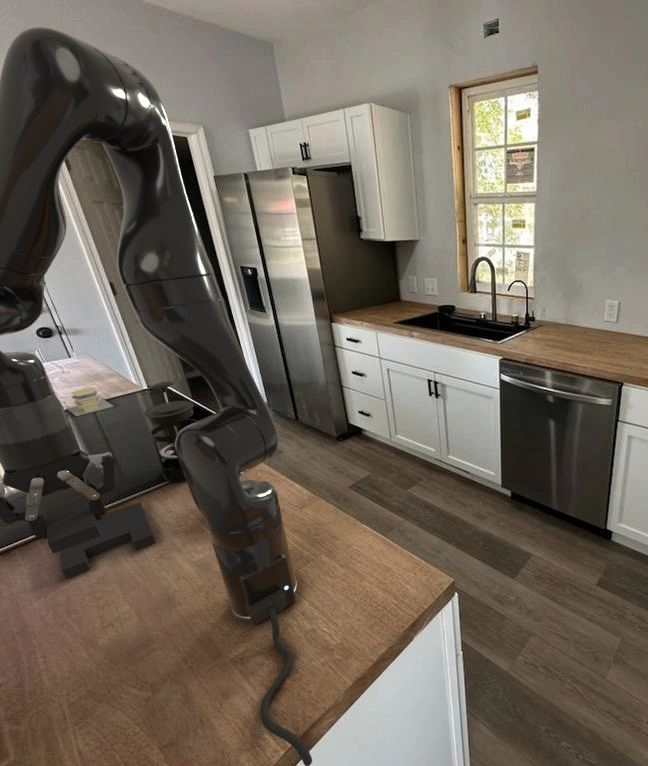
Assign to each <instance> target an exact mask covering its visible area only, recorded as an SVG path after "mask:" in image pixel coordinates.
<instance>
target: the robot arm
mask: <svg viewBox="0 0 648 766" xmlns="http://www.w3.org/2000/svg"><path fill="white" fill-rule="evenodd" d="M157 91H158V90H157V89H156V88H155V87H154V85H153V84H152V82H151V81H150V80H149V79H148V78H147V76H145V74H143V73H142V72H141V71H140V70H138V69H137V68H136V67H134V66H133V65H131V64H130V63H128V62H126V61H124V60H123V59H121V58H119V57H117V56H115V55H112V54H110V53H108V52H106V51H105V50H102V49H99V48H97V47H95V46H93V45H91V44H89V43H87V42H85V41H83V40H81V39H79V38H77V37H74V36H73V35H70V34H68V33H65V32H63V31H60V30H57V29H53V28H50V27H45V26H44V27H40V26H39V27H38V26H37V27H36V26H34V27H31V28H28V29H27V28H26V29H25V30H22V31H21V32H20V33H19V34H18V35H16V37H14V38H13V40H12V41H11V43H10V45H9V47H8V50H7V51H6V54H5V57H4V60H3V64H2V68H1V72H0V337H3V336H6V335H12V334H16V333H20V332H22V331H24V330H27V329H28V328H31V326H33V324H35V323H36V322H37V321H38V319H39V318H40V316H41V315H42V312H43V308H44V296H45V294H44V293H45V275H46V274H47V272H48V271H49V270H50V268H51V266H52V264H53V262H54V260H55V258H56V257H57V255H58V254H59V251H60V249H61V247H62V245H63V243H64V240H65V237H66V233H67V217H66V212H65V207H64V204H63V200H62V197H61V192H60V173H61V169H62V167H63V164H64V162H65V161H66V159H67V158H68V157H69V155H70V153H71V152H72V151H73V149H74V148H75V147H76V146H77V144H78V143H80V142H81V140H84V141H89V142H92V143H97V144H101V145H102V146H103V148H104V151H105V152H106V154H107V156H108V158H109V159H110V162H111V165H112V168H113V171H114V172H115V175H116V178H117V181H118V183H119V186H120V189H121V194H122V200H123V215H122V222H121V227H120V233H119V239H118V245H117V251H116V267H117V273H118V276H119V280H120V282H121V284H122V286H123V289H124V291H125V294H126V296H127V299H128V301H129V303H130V305H131V308H132V310H133V312H134V315H135V317H136V320H138V324H140V326H141V327H142V328H143V330H144V331H145V332H146V333H147V334H148V335H150V337H151V338H152V339H154V340H155V341H156V342H158V343H159V344H160V345H162V346H163V347H164V348H165V349H167V350H168V351H169V352H171V353H172V354H174V356H177V358H179V359H181V360H182V361H184V362H185V363H186V364H188V365H189V366H190V367H192V369H194V370H195V371H196V372H198V374H199V375H201V377H203V379H204V380H205V381H206V383H207V384H208V386H209V388H210V389H211V391H212V394H213V395H214V397H215V400H216V401H217V404H218V408H219V411H217V412H215V413H213V414H211V415H209V416H207V417H204V418H202V419H200V420H197V422H195V423H193V424H187V425H186V426H185V427H183V428H182V429H180V430H179V431H178V434H177V436H176V440H175V449H176V455H177V458H178V461H179V464H180V467H179V468H181V469H182V471H183V474H184V476H185V479H186V481H185V482H186V484H187V486H188V488H189V491H190V495H191V496H192V499H193V501H194V504H195V506H196V508H197V509H198V511H199V513H200V514H201V516H202V517H203V519H204V521H205V525H206V527H207V531H208V534H209V537H210V540H211V544H212V548H213V551H214V554H215V557H216V561H217V564H218V567H219V570H220V571H219V572H220V574H221V577H222V581H223V583H224V587H225V590H226V594H227V597H228V600H229V604H230V609H231V612H232V616H234V618H235V619H236V620H238V621H241V622H245V623H252V624H253V626H254V627H256V626H258V625H260V624H262V623H263V622H265V621H267V620H268V619H269V620H270V624H271V627H272V628H271V629H272V643H273V645H274V646H275V649H276V651H278V652H279V653H280V654H281V655H282V656H283V657H284V659H285V664H284V667H283V669H282V671H281V672H280V674H279V676H278V677H277V678H276V680H275V681H274V682H273V684H271V686H270V687H269V688H268V690H267V692H266V693H265V695H264V696H263V699H262V701H261V704H260V718H261V719H260V720H261V723H262V725H263V726H264V728H265V729H266V730H267V731H268V732H270V733H271V734H273V735H275V736H276V737H278V738H280V739H282V740H283V741H285V742H286V743H288V744H289V745H291V746H292V747H293V748H294V749H295V751H296V752H297V753H298V755H299V757H300V759H301V761H302V763H303V765H304V766H311V765H312V763H313V757H312V755H311V753H310V751H309V749H308V747H307V745H306V744H305V742H303V740H302V739H301V738H300V737H299V736H297V734H295V733H294V732H292V731H291V730H288V729H287V728H286V727H283V726H281V725H279V724H277V723H276V722H275V721H274V720H273V719H272V718H271V716H270V712H269V707H270V702H271V700H272V698H273V696H274V694H275V693H276V692H277V690H278V689H279V687H280V686H281V685H282V684H283V682H284V681H285V680H286V678H287V677H288V675H289V673H290V671H291V669H292V666H293V654H292V651H290V649H289V648H288V647H287V646H285V644H283V642H282V640H281V638H280V637H281V636H280V623H279V618H278V613H280V612H282V611H283V610H285V609H286V608H288V607H290V606H292V605H293V604H295V603H296V602H297V599H296V595H297V593H298V587H299V586H298V584H299V583H298V581H297V577H296V575H295V570H294V566H293V561H292V557H291V552H290V548H289V543H288V538H287V534H286V529H285V526H284V521H283V516H282V515H283V514H282V511H281V505H280V502H279V497H278V493H277V490H276V488H275V486H274V485H273V484H272V483H270V482H267V481H265V480H260V479H257V480H256V479H251V480H249V479H247V480H241V479H240V477H241V476H243V475H245V474H246V473H248V472H249V471H251V470H253V469H254V468H255V467H256V468H257V466H259V465H260V464H262V463H264V462H265V461H266V460H268V459H269V458H271V457H272V456H274V454H275V453H276V451H277V449H278V445H279V436H278V431H277V427H276V425H275V421H274V419H273V416H272V415H271V412H270V410H269V408H268V406H267V404H266V402H265V400H264V397H263V395H262V394H261V391H260V389H259V387H258V385H257V383H256V381H255V378H254V377H253V375H252V372H251V370H250V369H249V366H248V364H247V361H246V359H245V356H244V354H243V350H242V348H241V346H240V343H239V341H238V338H237V335H236V332H235V329H234V328H233V325H232V322H231V320H230V317H229V313H228V310H227V306H226V303H225V299H224V297H223V294H222V291H221V288H220V286H219V282H218V279H217V277H216V275H215V271H214V269H213V266H212V264H211V261H210V259H209V256H208V254H207V252H206V249H205V246H204V243H203V240H202V237H201V233H200V230H199V228H198V224H197V221H196V217H195V216H194V213H193V210H192V206H191V203H190V200H189V197H188V194H187V191H186V187H185V183H184V180H183V176H182V172H181V168H180V163H179V158H178V154H177V151H176V146H175V143H174V139H173V133H172V130H171V126H170V122H169V119H168V115H167V112H166V108H165V107H164V103H163V101H162V99H161V97H160V95H159V93H158V92H157ZM90 464H93V465H94V466H95V468H96V469H98V470H101V482H100V483H98V484H96V485H95V484H94V483H92V482H91V481H90V480H89V478H87V477H86V476H85V475H84V473H85V471H86V469H87V467H88V466H89V465H90ZM0 466H1V468H2V470H3V472H4V473H3V476H2V478H0V520H1V521H3V523H5V524H13V523H15V522H18V521H25V522H27V523H28V525H29V527H30V529H31V532H32V533H33V536H34V537H36V538H41V537H42V538H43V540H47V522H46V517H45V516H44V514H43V512H42V510H40V507H41V503H42V497H45V496H49V495H52V494H54V493H55V492H57V491H65V490H68V489H74V490H75V491H77V492H78V493H79V494H80V493H81V494H82V495H83V496H84V497H85V498H88V503H89V505H90V507H91V510H92V512H93V514H94V516H95V518H96V520H97V521H98V520H101V519H102V515H105V514H107V509H106V506H105V504H104V501H103V499H102V496H103V495H104V494H106V493H110V492H112V491H114V489H115V458H114V455H113V453H112V451H111V450H104V451H102V452H101V453H99V454H97V453H96V454H87V453H86V452H84V451H83V450H82V449H81V447H80V445H79V442H78V439H77V437H76V435H75V432H74V429H73V427H72V425H71V422H70V420H69V414H68V413H67V411H66V410H65V408H64V405H63V403H62V402H61V401H60V399H59V398H58V396H57V394H56V392H55V390H54V388H53V385H52V383H51V381H50V378H49V376H48V374H47V371H46V368H45V366H44V364H43V363H42V361H41V359H40V358H39V357H38V356H37V355H35V354H33V353H30V352H23V351H11V352H10V351H8V352H6V351H5V352H3V351H1V350H0ZM6 487H7V488H8V487H9V488H11V489H14V490H18V491H20V492H23V493H26V501H25V507H19V508H17V507H16V506H14V505H13V504H12V503H11V502H10V501H9V500H8V499H7V498H6V497H5V495H6V489H5V488H6Z"/></svg>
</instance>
